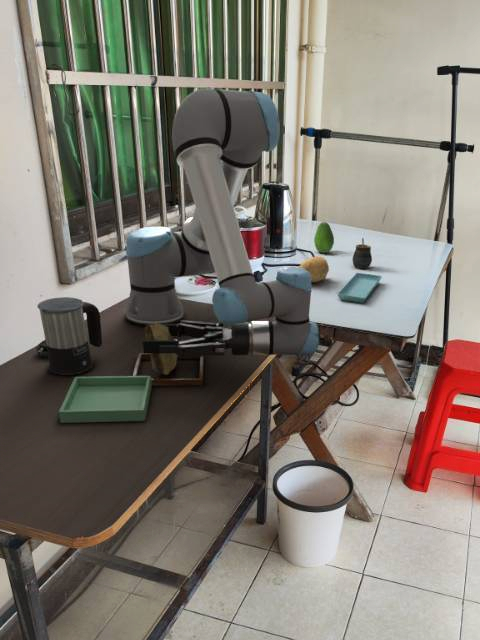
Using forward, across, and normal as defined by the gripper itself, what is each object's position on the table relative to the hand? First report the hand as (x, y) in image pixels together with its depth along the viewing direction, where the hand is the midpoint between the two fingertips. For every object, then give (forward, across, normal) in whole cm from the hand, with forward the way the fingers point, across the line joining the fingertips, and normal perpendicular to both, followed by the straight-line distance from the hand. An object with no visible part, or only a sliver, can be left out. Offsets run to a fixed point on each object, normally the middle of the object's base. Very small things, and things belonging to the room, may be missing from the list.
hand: (145, 338), depth 129 cm
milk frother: (+19, +6, -8) cm, 22 cm away
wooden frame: (-5, 0, -8) cm, 9 cm away
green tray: (+6, -15, -8) cm, 18 cm away
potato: (-49, +73, -8) cm, 88 cm away
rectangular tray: (-63, +62, -8) cm, 88 cm away
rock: (-4, 0, -6) cm, 8 cm away
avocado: (-59, +113, -9) cm, 128 cm away
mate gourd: (-70, +92, -8) cm, 116 cm away
